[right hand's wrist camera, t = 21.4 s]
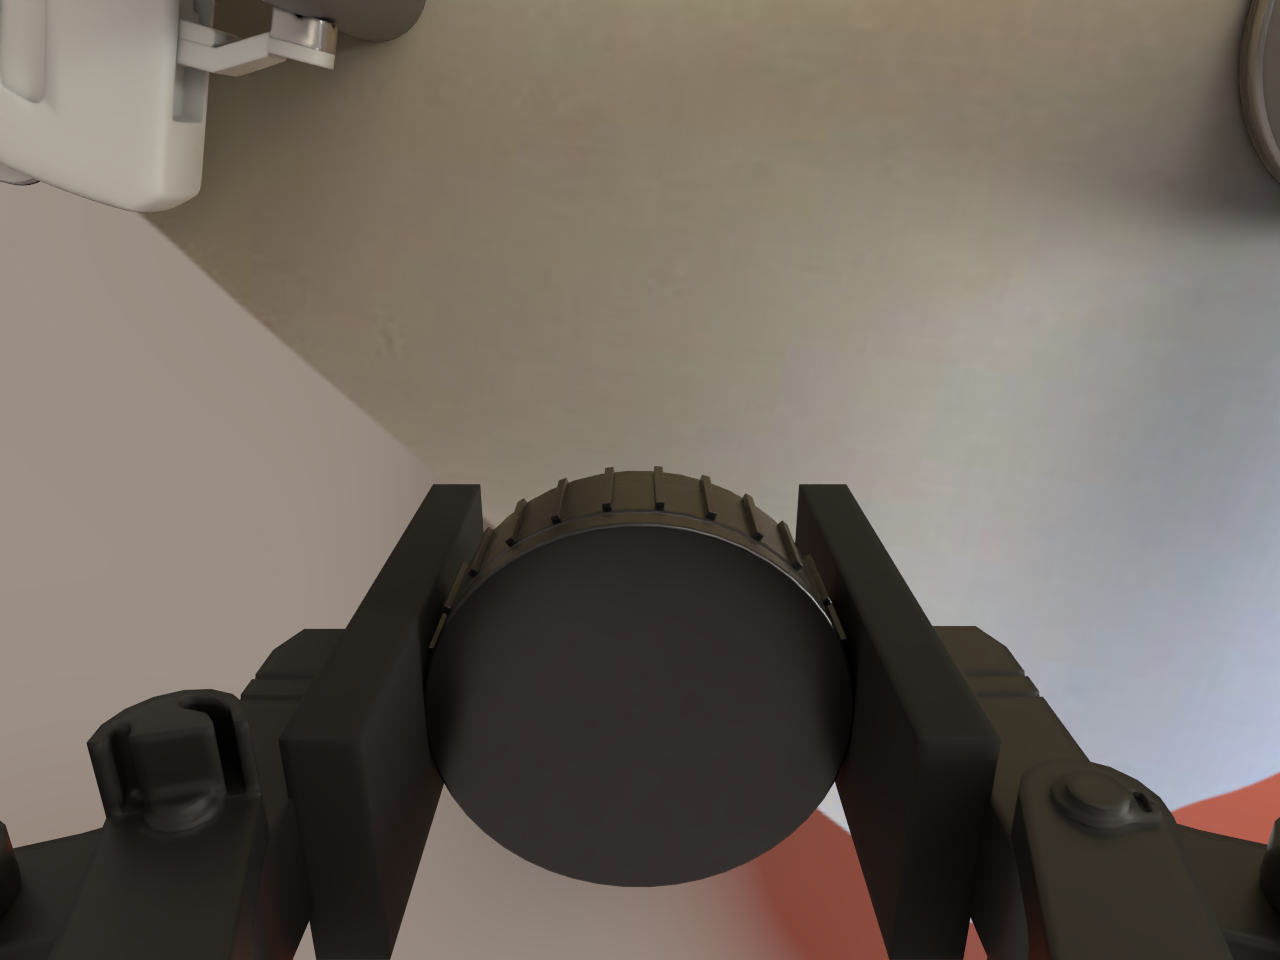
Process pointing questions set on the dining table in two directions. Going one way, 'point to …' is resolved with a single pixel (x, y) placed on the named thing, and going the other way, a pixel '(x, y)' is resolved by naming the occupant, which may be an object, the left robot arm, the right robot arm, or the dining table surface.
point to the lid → (639, 681)
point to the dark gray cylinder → (360, 15)
